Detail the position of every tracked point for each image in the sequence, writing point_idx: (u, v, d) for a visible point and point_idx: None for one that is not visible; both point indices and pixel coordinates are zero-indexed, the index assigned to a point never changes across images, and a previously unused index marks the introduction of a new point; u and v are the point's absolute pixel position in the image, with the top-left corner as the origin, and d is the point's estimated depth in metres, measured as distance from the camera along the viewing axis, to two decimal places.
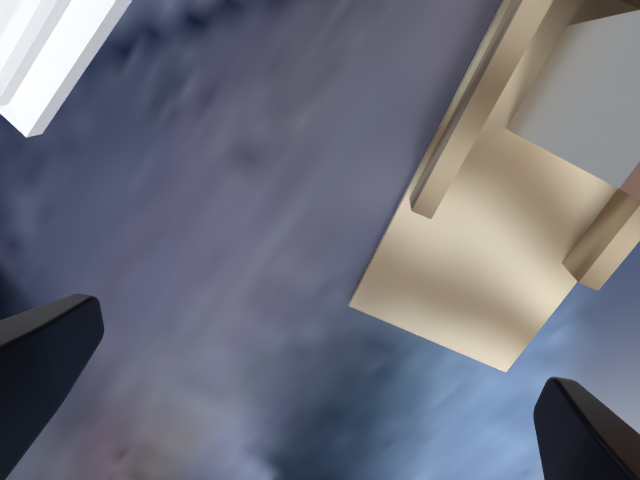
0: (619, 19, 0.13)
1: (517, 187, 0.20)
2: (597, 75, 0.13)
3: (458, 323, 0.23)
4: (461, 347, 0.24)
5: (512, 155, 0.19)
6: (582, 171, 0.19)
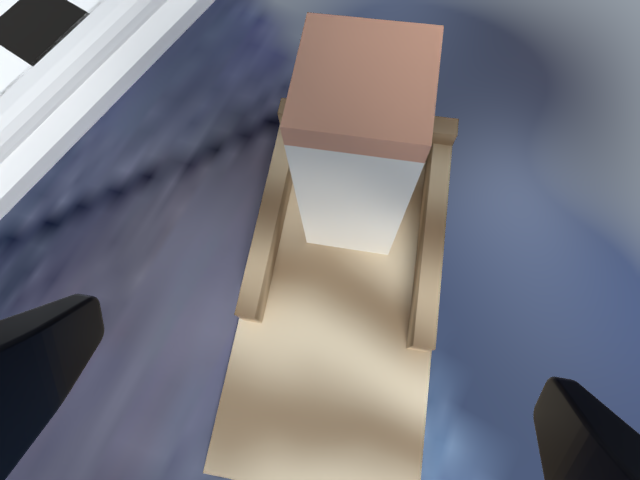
0: None
1: (334, 286, 0.22)
2: None
3: (335, 457, 0.19)
4: None
5: (319, 260, 0.22)
6: (380, 260, 0.22)
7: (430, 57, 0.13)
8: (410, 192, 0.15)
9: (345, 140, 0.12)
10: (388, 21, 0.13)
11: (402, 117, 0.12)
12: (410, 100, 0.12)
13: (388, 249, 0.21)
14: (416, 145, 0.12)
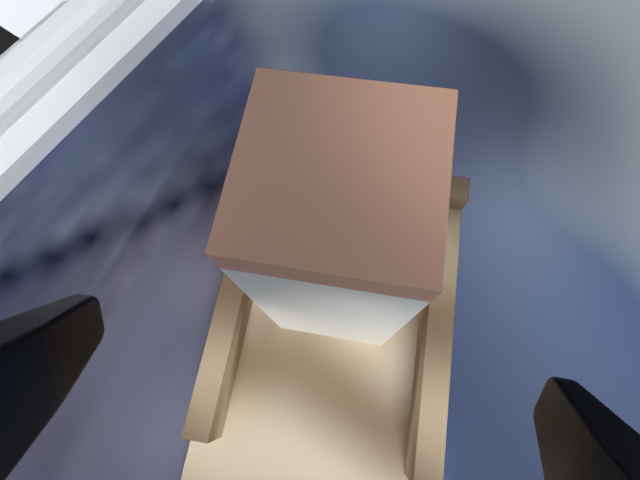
0: None
1: (314, 387, 0.17)
2: None
3: None
4: None
5: (296, 352, 0.18)
6: (371, 352, 0.18)
7: (438, 140, 0.08)
8: (409, 317, 0.10)
9: (307, 274, 0.08)
10: (376, 82, 0.09)
11: (396, 240, 0.08)
12: (408, 211, 0.08)
13: (381, 342, 0.17)
14: (418, 288, 0.08)
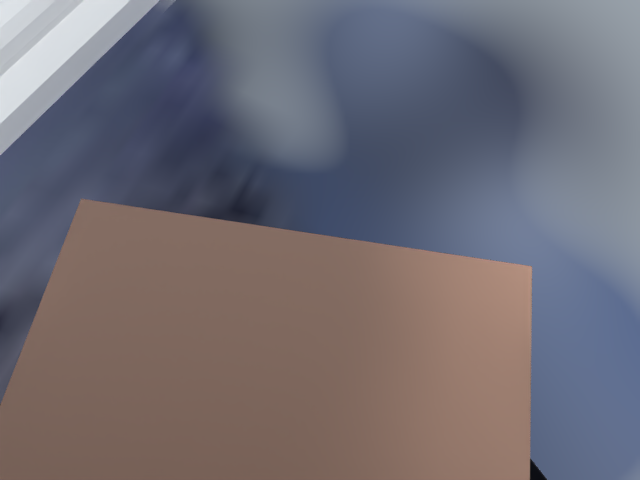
0: None
1: None
2: None
3: None
4: None
5: None
6: None
7: (492, 413, 0.03)
8: None
9: None
10: (341, 244, 0.04)
11: None
12: None
13: None
14: None
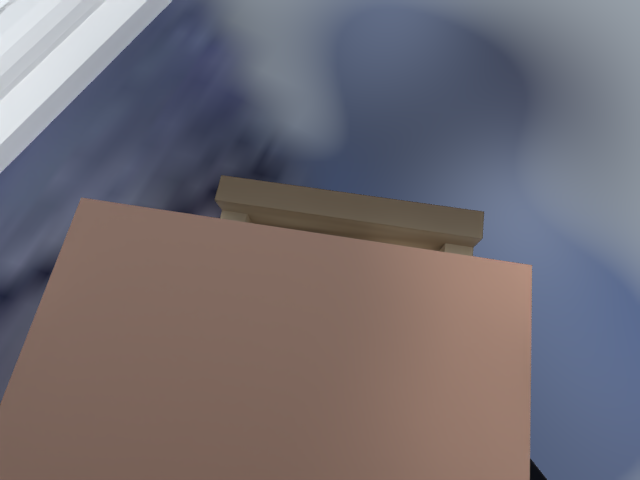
0: None
1: None
2: None
3: None
4: None
5: None
6: None
7: (492, 412, 0.03)
8: None
9: None
10: (341, 243, 0.04)
11: None
12: None
13: None
14: None
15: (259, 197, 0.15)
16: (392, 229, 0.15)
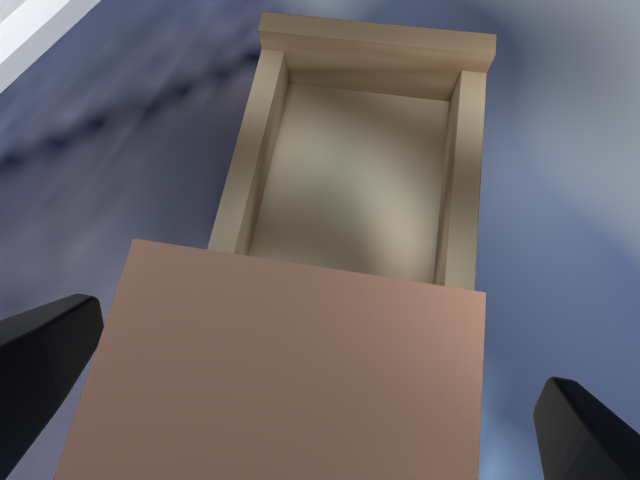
0: None
1: (333, 257, 0.17)
2: None
3: None
4: None
5: (313, 224, 0.17)
6: (392, 223, 0.17)
7: (452, 405, 0.05)
8: None
9: None
10: (340, 274, 0.05)
11: None
12: None
13: None
14: None
15: (297, 28, 0.17)
16: (415, 54, 0.16)
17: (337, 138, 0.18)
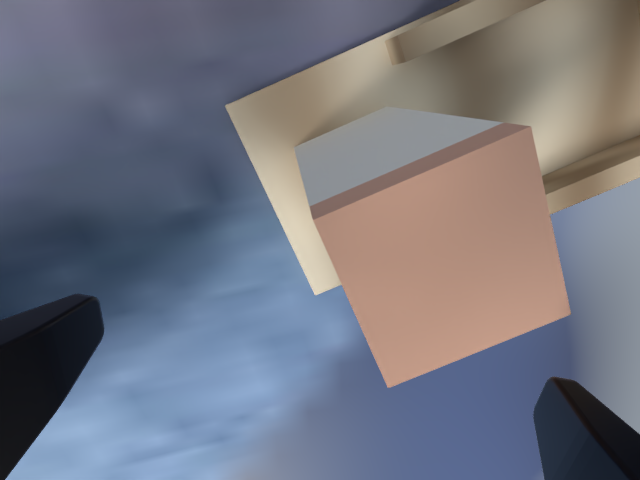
0: (414, 112, 0.14)
1: None
2: (372, 136, 0.13)
3: None
4: (298, 241, 0.20)
5: (489, 84, 0.18)
6: None
7: (513, 326, 0.09)
8: None
9: None
10: (554, 249, 0.09)
11: (409, 343, 0.09)
12: (437, 339, 0.09)
13: None
14: (381, 372, 0.09)
15: None
16: None
17: (581, 52, 0.18)
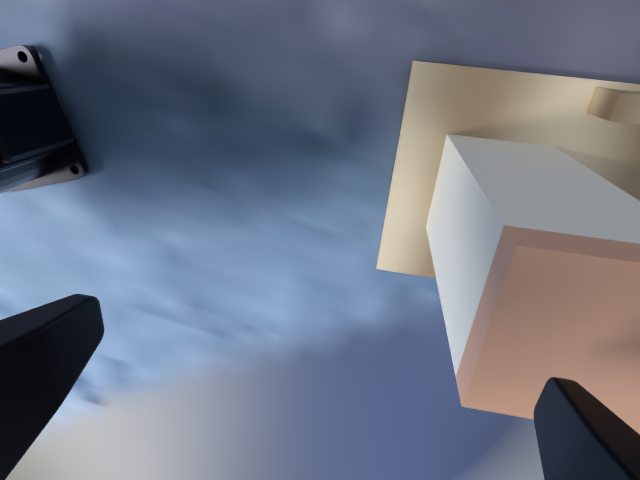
0: (596, 176, 0.13)
1: None
2: (551, 177, 0.13)
3: (426, 202, 0.19)
4: (393, 216, 0.20)
5: None
6: None
7: None
8: (446, 324, 0.13)
9: (486, 317, 0.09)
10: None
11: (507, 384, 0.10)
12: (533, 395, 0.10)
13: (428, 233, 0.19)
14: (465, 391, 0.10)
15: None
16: None
17: None
